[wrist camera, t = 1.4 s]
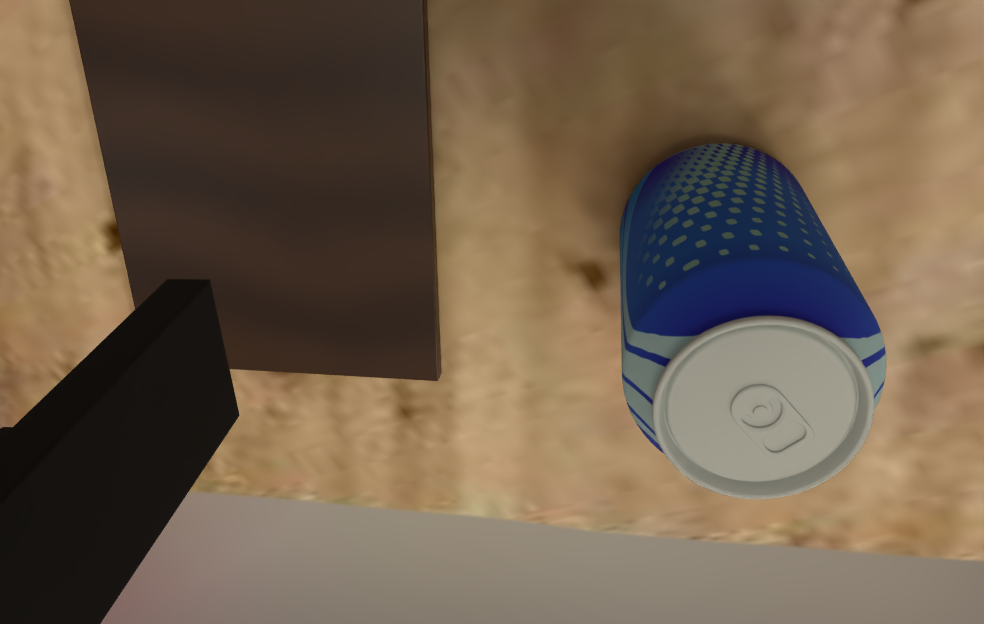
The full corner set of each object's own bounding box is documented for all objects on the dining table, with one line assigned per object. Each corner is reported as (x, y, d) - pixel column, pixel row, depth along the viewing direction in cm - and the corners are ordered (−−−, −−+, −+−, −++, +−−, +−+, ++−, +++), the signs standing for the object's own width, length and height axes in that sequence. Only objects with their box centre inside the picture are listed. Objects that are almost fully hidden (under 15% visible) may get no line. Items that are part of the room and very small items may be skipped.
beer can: (619, 304, 44) (621, 518, 30) (620, 136, 40) (623, 291, 26) (796, 304, 43) (886, 527, 29) (814, 132, 39) (929, 290, 25)
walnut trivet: (71, -33, 40) (61, -31, 39) (425, -31, 38) (421, -29, 37) (153, 357, 49) (146, 364, 48) (441, 373, 47) (438, 381, 46)
